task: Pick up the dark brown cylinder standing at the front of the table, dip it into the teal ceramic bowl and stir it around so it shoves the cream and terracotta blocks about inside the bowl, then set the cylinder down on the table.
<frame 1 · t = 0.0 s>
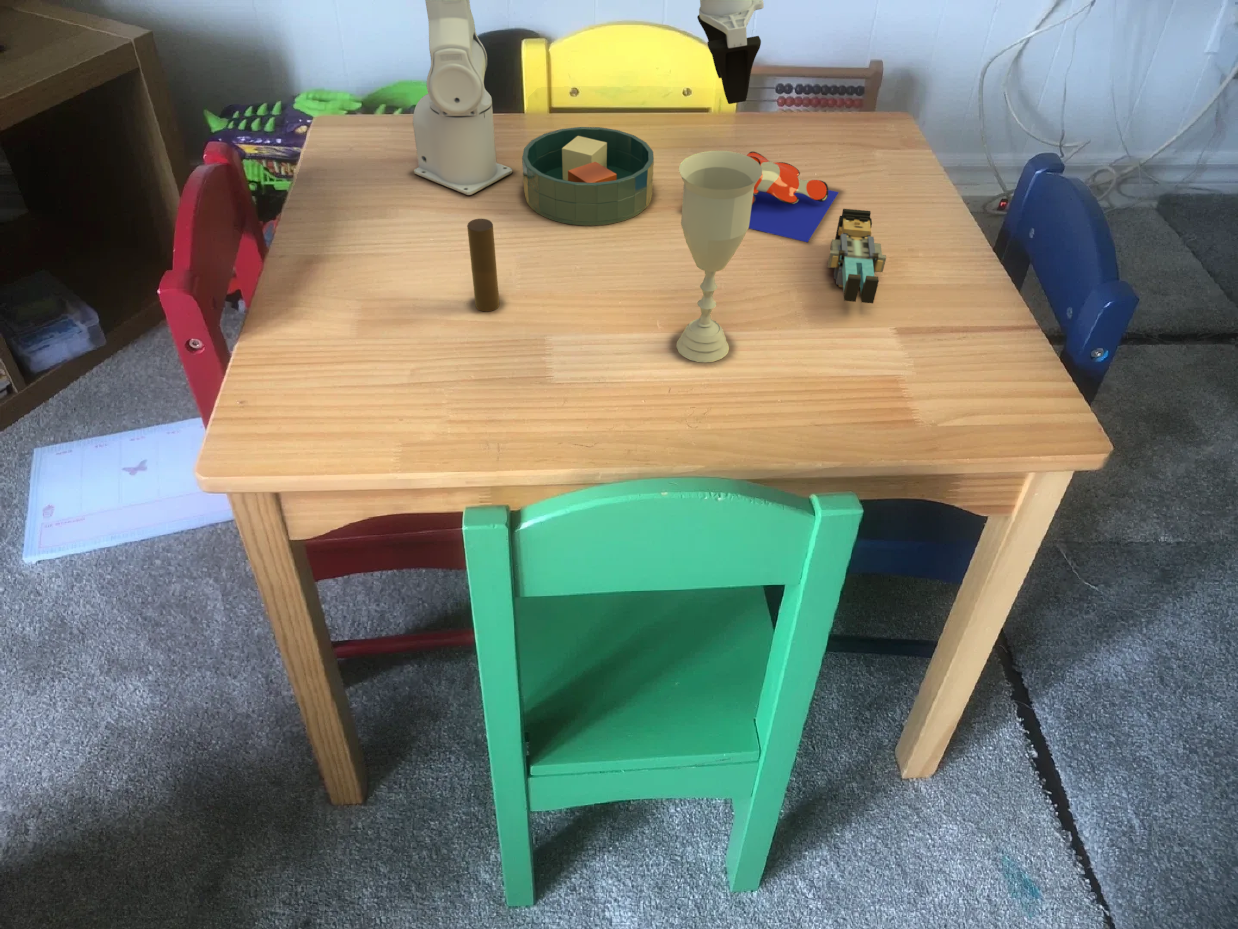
hand: (731, 88, 107), 11 cm above the table, tool pointing down, fingers open, 7 cm apart
fish: (762, 203, 110), on the table
toy: (851, 280, 97), on the table
terracotta block: (592, 204, 107), resting on bowl
bowl: (588, 194, 110), on the table
cream block: (584, 176, 112), resting on bowl
chalice: (702, 348, 88), on the table
dark brown cylinder: (487, 305, 92), on the table
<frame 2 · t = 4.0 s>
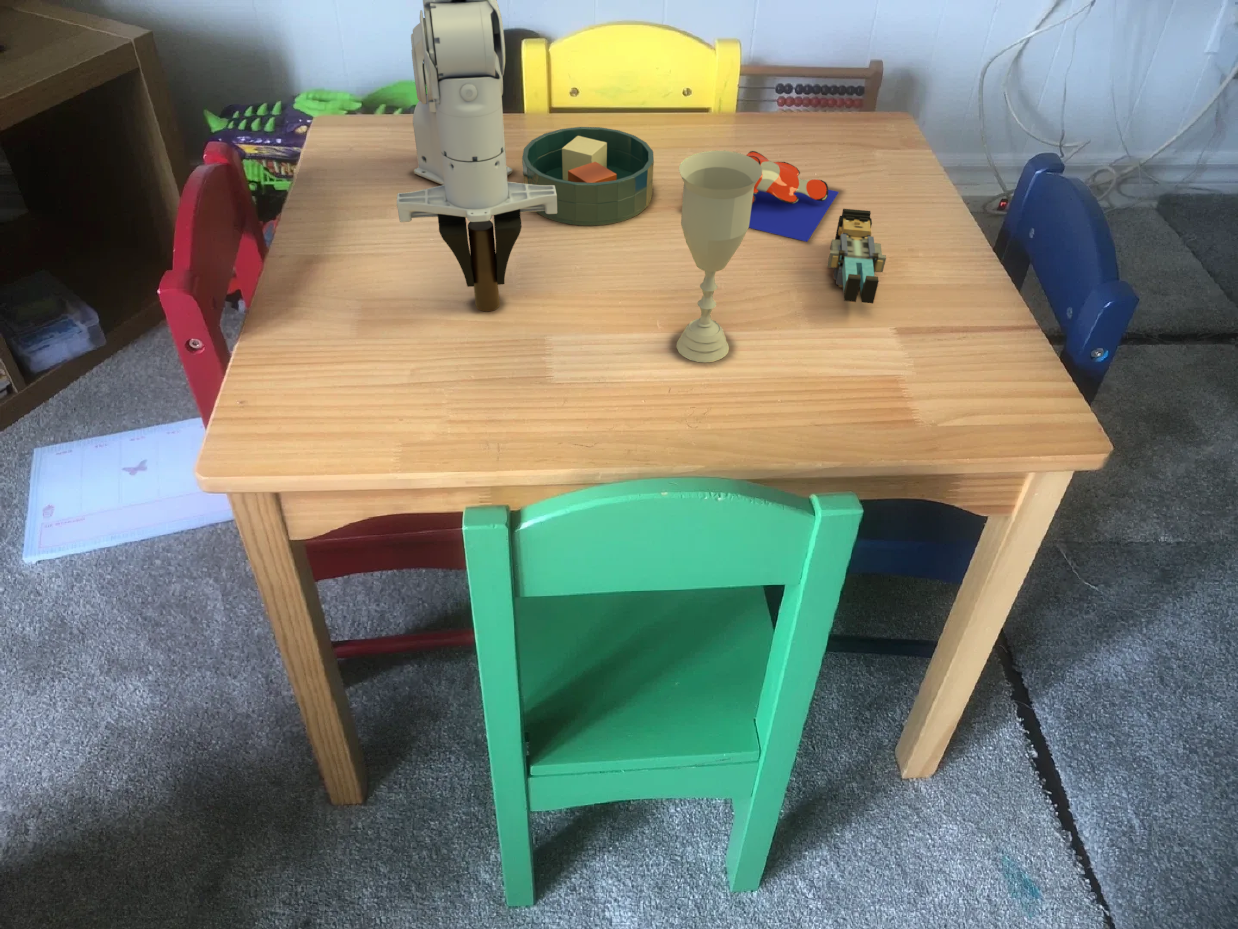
hand: (485, 280, 90), 3 cm above the table, tool pointing down, fingers closed on dark brown cylinder, 2 cm apart
dark brown cylinder: (487, 305, 92), on the table, touching gripper
everything else where it was.
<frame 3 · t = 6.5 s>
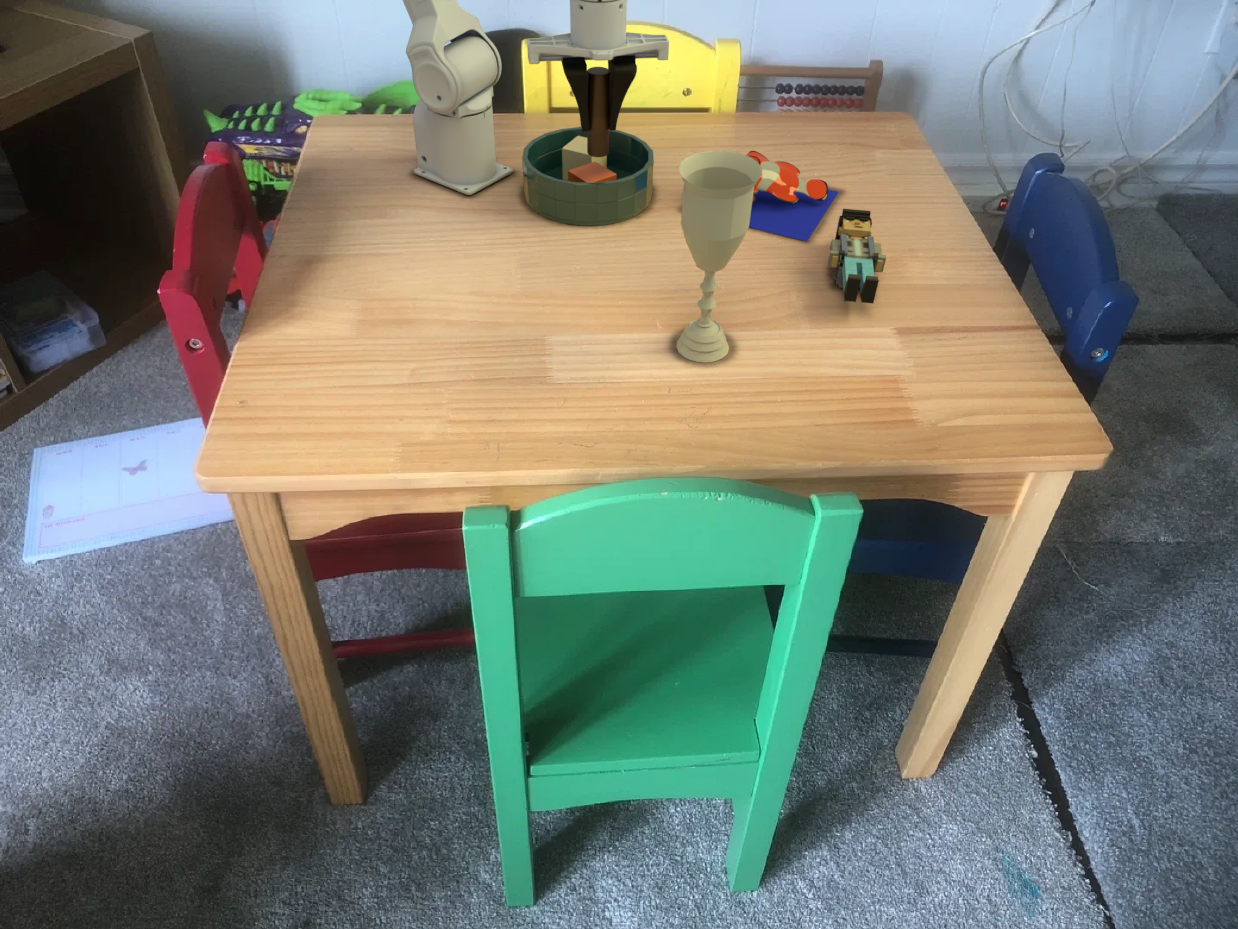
hand: (597, 127, 100), 10 cm above the table, tool pointing down, fingers closed on dark brown cylinder, 2 cm apart
dark brown cylinder: (598, 152, 102), point 7 cm above the table, touching gripper
everything else where it was.
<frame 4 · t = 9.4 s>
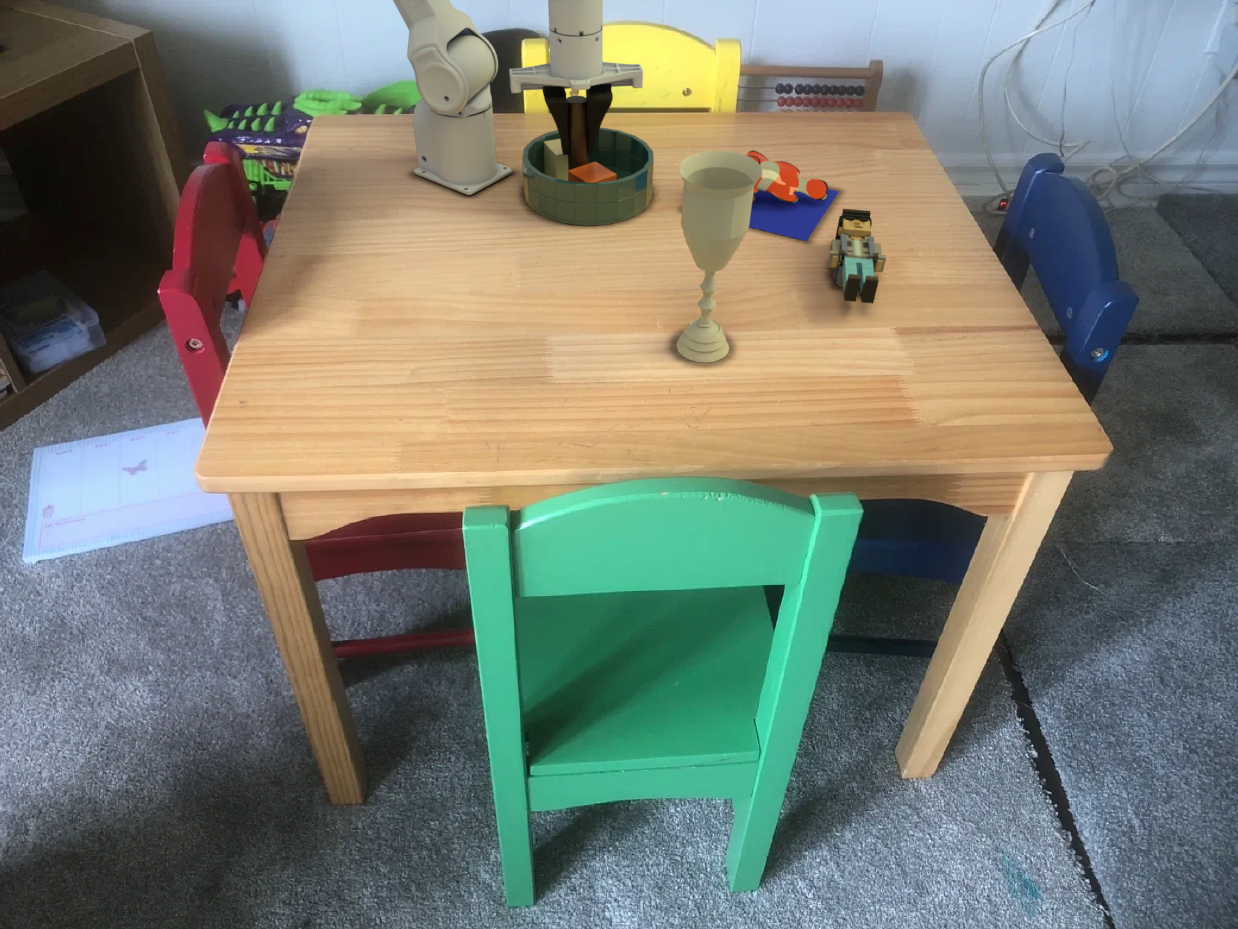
hand: (577, 150, 106), 5 cm above the table, tool pointing down, fingers closed on dark brown cylinder, 2 cm apart
cream block: (565, 176, 112), point 1 cm above the table, touching bowl
dark brown cylinder: (578, 175, 108), point 2 cm above the table, touching gripper
everything else where it was.
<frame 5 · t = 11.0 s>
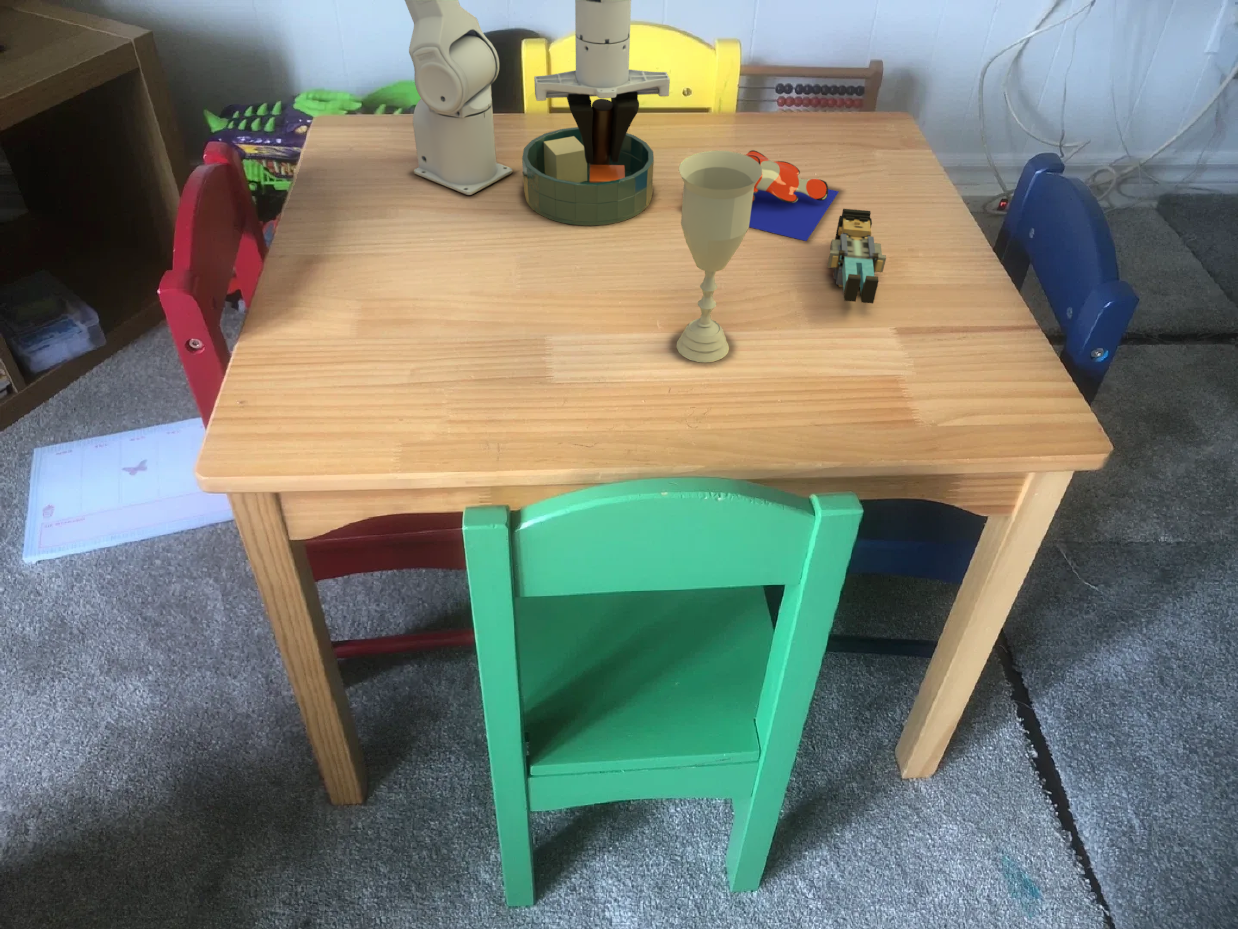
hand: (601, 158, 105), 5 cm above the table, tool pointing down, fingers closed on dark brown cylinder, 2 cm apart
terracotta block: (606, 204, 107), point 1 cm above the table, touching bowl, dark brown cylinder
dark brown cylinder: (598, 173, 108), point 3 cm above the table, tilted 10°, touching gripper, terracotta block
everything else where it was.
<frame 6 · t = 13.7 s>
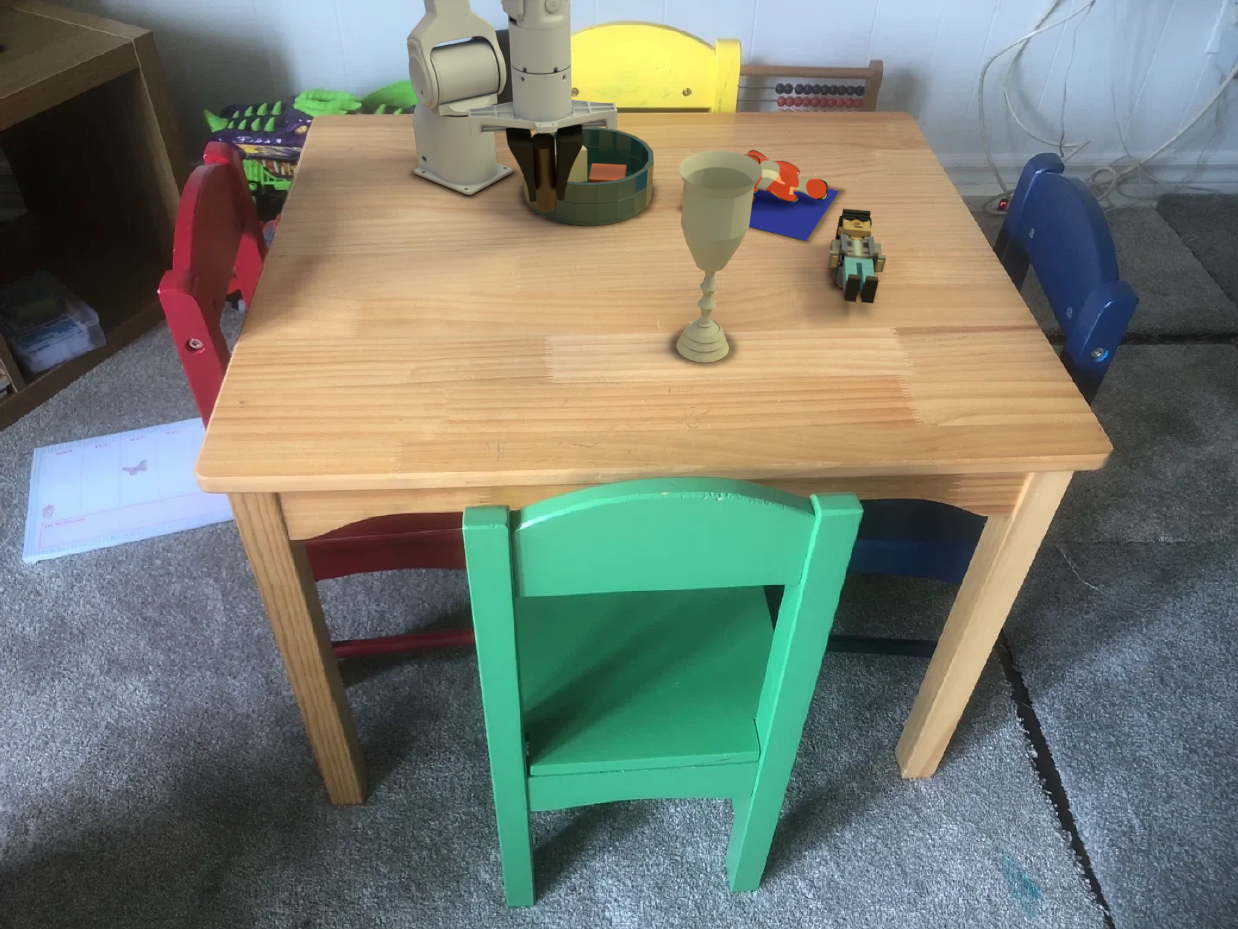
hand: (546, 196, 96), 6 cm above the table, tool pointing down, fingers closed on dark brown cylinder, 2 cm apart
terracotta block: (607, 203, 107), point 1 cm above the table, touching bowl
dark brown cylinder: (545, 203, 99), point 4 cm above the table, tilted 20°, touching gripper
everything else where it was.
when the fingers open (3 cm above the table, at t = 15.6 s): dark brown cylinder moves 1 cm and tips over, point 1 cm above the table.
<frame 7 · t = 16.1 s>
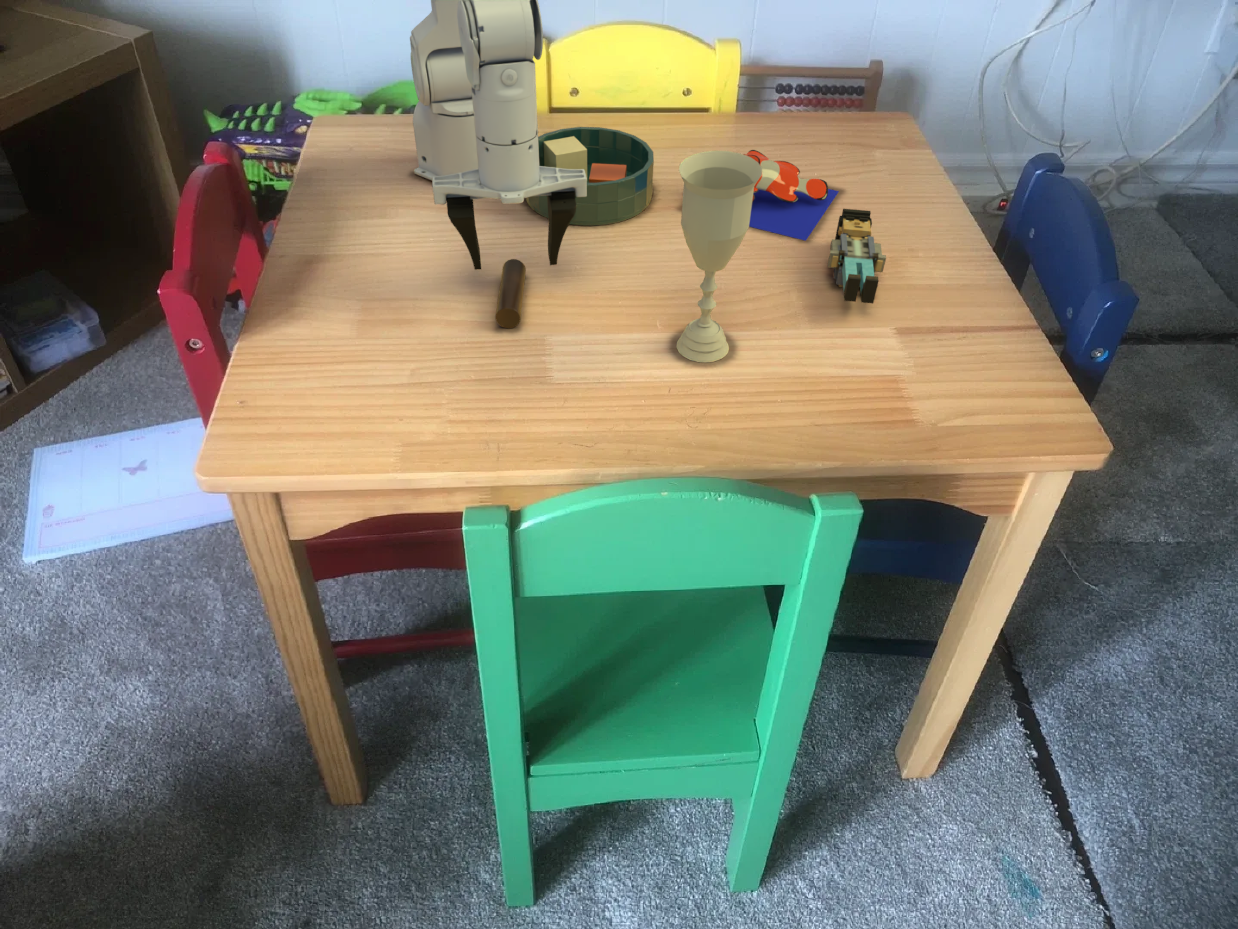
hand: (515, 262, 93), 3 cm above the table, tool pointing down, fingers open, 7 cm apart
dark brown cylinder: (514, 268, 95), point 1 cm above the table, tilted 90°
everything else where it was.
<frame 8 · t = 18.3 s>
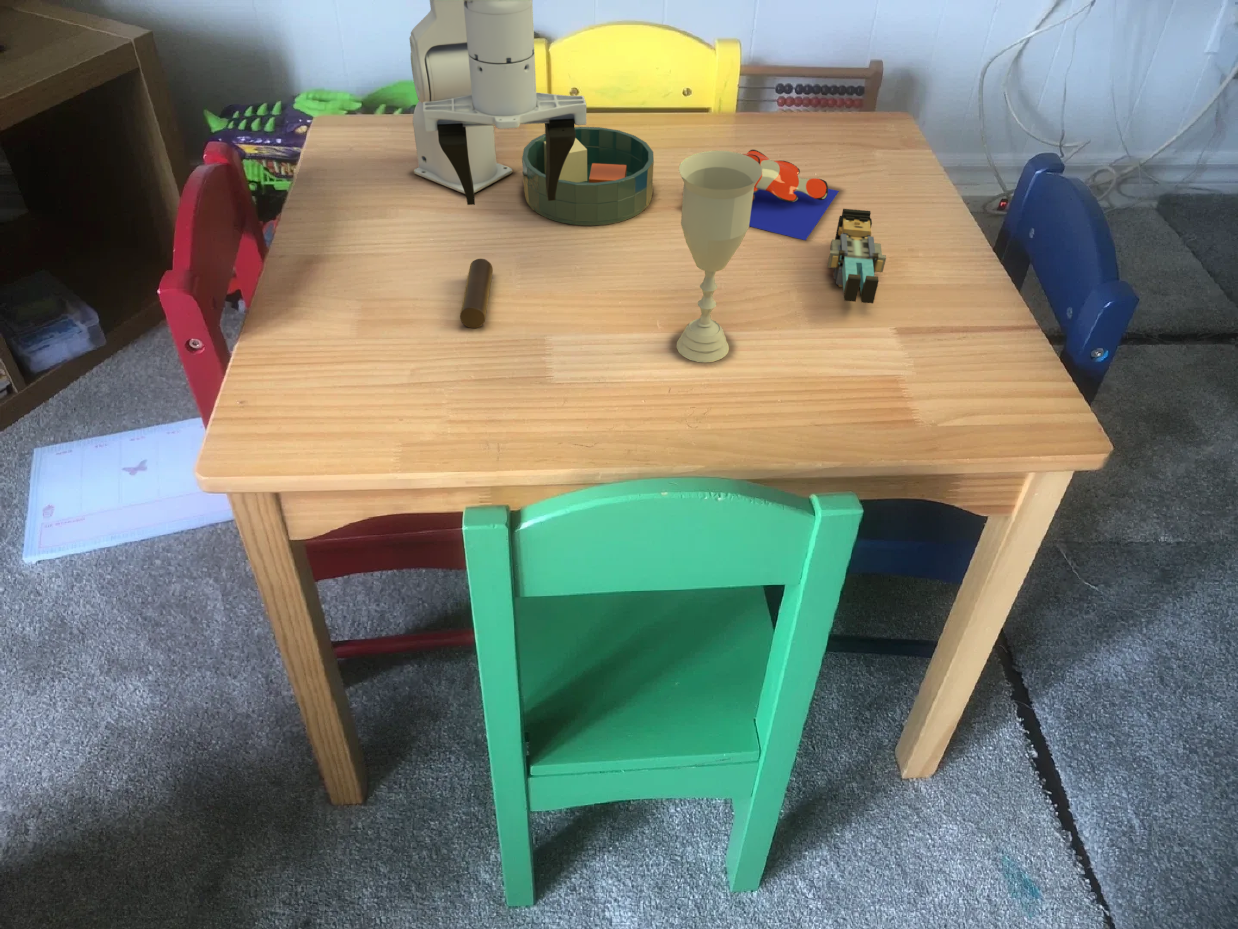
hand: (511, 197, 88), 10 cm above the table, tool pointing down, fingers open, 7 cm apart
dark brown cylinder: (481, 268, 95), point 1 cm above the table, tilted 90°
everything else where it was.
at the end: cream block moved 2.3 cm from its start; cream block inside the target area in the bowl (4.4 cm from its centre), point 0.5 cm above the bowl's base; terracotta block inside the target area in the bowl (4.0 cm from its centre), point 0.5 cm above the bowl's base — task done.
